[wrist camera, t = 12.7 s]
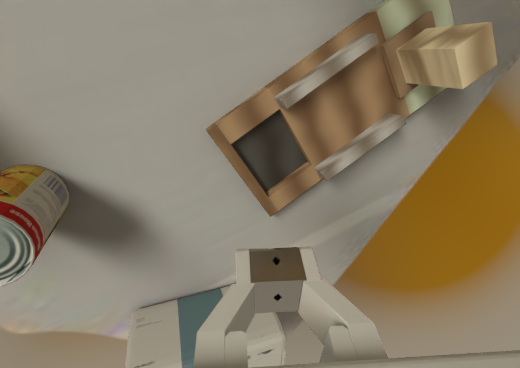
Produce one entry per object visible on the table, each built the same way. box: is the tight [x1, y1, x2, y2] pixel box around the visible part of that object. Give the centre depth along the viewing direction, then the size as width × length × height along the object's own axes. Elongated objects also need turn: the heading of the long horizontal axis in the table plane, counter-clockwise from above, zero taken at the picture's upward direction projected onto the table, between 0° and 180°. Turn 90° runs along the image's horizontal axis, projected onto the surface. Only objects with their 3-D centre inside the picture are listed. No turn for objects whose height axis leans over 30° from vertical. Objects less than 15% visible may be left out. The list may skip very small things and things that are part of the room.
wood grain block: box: [380, 11, 497, 98], centre depth 37 cm, size 8×8×10 cm
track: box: [206, 0, 454, 217], centre depth 41 cm, size 37×16×5 cm, turn 122°
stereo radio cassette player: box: [125, 285, 286, 368], centre depth 42 cm, size 21×8×20 cm, turn 93°
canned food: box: [0, 164, 69, 287], centre depth 31 cm, size 8×8×12 cm
